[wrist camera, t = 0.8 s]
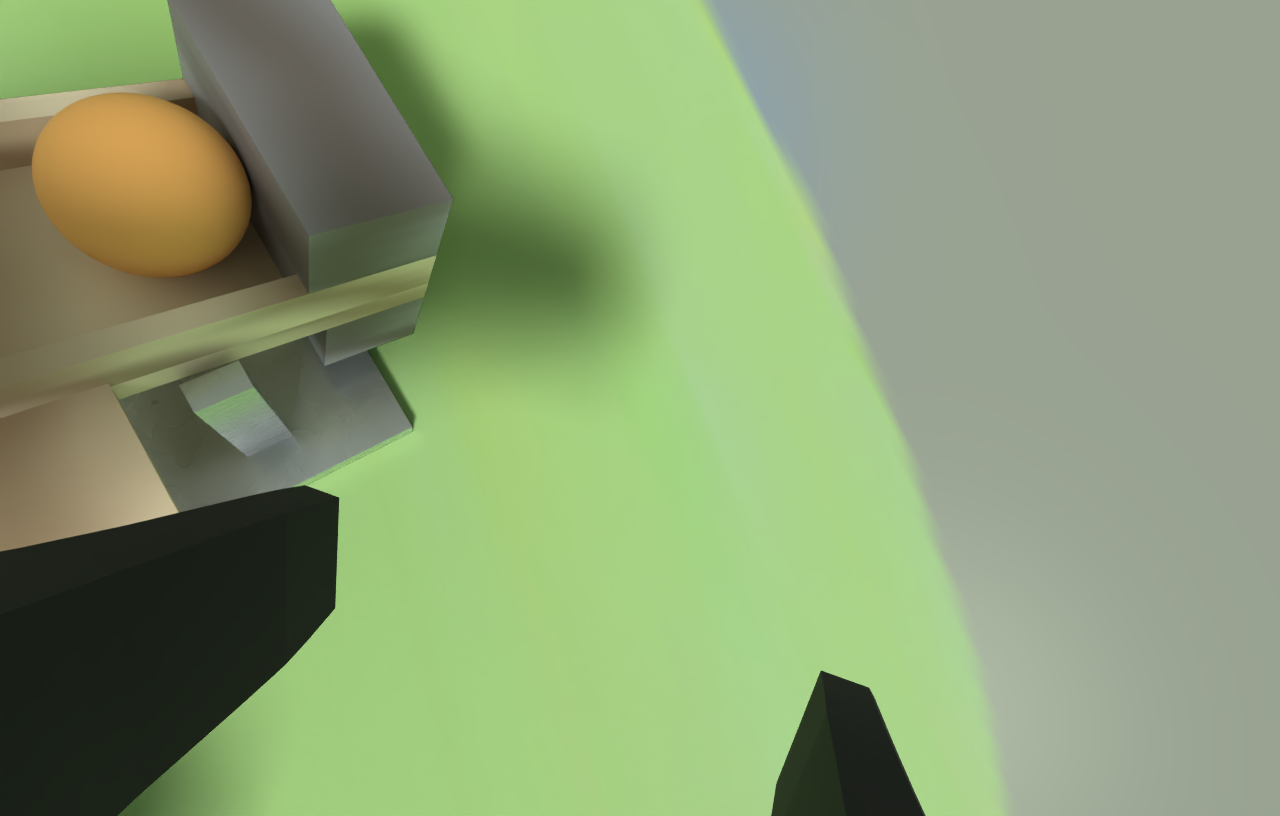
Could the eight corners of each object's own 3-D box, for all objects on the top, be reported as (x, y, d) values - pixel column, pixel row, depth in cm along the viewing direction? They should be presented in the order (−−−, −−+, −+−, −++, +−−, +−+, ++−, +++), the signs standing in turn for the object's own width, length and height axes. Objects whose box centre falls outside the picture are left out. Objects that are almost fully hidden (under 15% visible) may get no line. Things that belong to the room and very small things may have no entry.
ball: (101, 329, 15) (62, 225, 12) (24, 189, 16) (-33, 53, 12) (279, 284, 18) (285, 188, 14) (209, 164, 18) (201, 44, 15)
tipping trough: (317, 172, 23) (321, -16, 17) (488, 459, 22) (558, 370, 16) (-598, 359, 13) (-1402, 68, 7) (-369, 900, 12) (-1082, 1125, 6)
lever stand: (4, 637, 18) (-168, 648, 13) (-178, 276, 19) (-401, 154, 14) (412, 431, 23) (406, 379, 18) (248, 151, 24) (197, 26, 19)
